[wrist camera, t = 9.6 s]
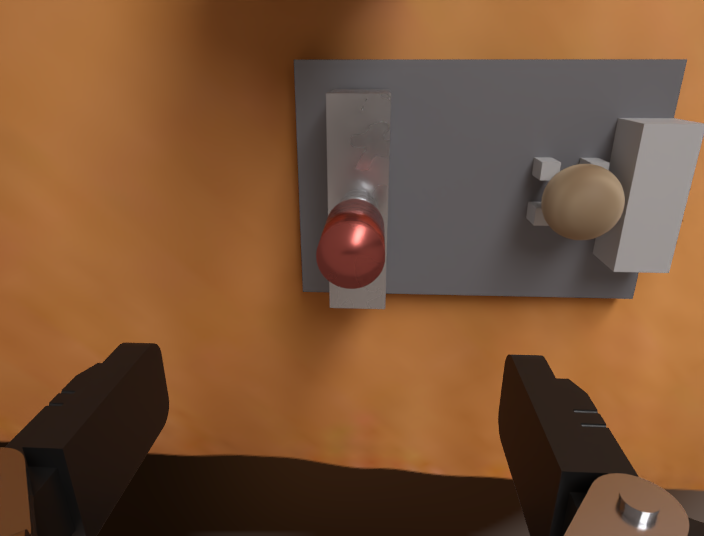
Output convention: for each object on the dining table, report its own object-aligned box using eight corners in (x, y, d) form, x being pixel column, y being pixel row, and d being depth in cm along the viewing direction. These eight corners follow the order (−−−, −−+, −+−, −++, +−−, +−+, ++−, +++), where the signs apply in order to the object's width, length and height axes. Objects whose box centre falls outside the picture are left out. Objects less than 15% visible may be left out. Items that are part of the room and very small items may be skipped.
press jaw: (389, 89, 28) (395, 103, 17) (384, 273, 32) (386, 382, 21) (334, 88, 28) (305, 103, 17) (337, 272, 32) (314, 380, 21)
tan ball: (611, 158, 28) (647, 172, 24) (598, 227, 29) (630, 251, 25) (537, 157, 28) (561, 171, 24) (528, 226, 29) (549, 250, 26)
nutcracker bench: (671, 59, 28) (722, 58, 24) (622, 289, 33) (656, 320, 29) (297, 60, 29) (284, 58, 25) (305, 282, 34) (295, 312, 30)
